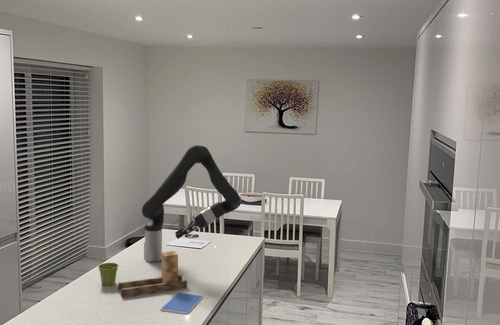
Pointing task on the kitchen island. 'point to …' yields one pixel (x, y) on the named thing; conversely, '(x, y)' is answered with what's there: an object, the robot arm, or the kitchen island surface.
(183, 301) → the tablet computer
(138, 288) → the chute
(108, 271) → the plant pot
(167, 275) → the block
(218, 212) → the robot arm
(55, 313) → the kitchen island surface
